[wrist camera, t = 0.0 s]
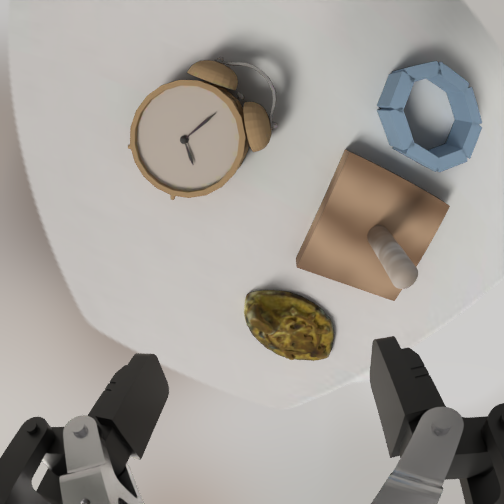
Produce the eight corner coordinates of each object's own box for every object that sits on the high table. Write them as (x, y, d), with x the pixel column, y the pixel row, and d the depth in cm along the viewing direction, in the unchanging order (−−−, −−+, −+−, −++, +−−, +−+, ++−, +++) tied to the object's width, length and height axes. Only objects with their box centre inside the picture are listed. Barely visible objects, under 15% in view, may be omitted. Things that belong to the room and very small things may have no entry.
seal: (351, 326, 39) (269, 266, 35) (361, 348, 35) (272, 286, 31) (305, 367, 42) (222, 317, 38) (309, 389, 37) (219, 340, 34)
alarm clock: (108, 137, 26) (218, 27, 18) (134, 127, 30) (234, 34, 22) (177, 220, 29) (304, 131, 22) (195, 200, 33) (307, 122, 26)
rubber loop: (398, 48, 22) (412, 43, 18) (472, 99, 23) (490, 101, 19) (365, 134, 26) (376, 138, 23) (441, 177, 27) (457, 186, 24)
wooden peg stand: (345, 149, 27) (376, 169, 18) (441, 200, 28) (490, 237, 20) (295, 258, 33) (301, 315, 24) (389, 291, 34) (416, 347, 25)
